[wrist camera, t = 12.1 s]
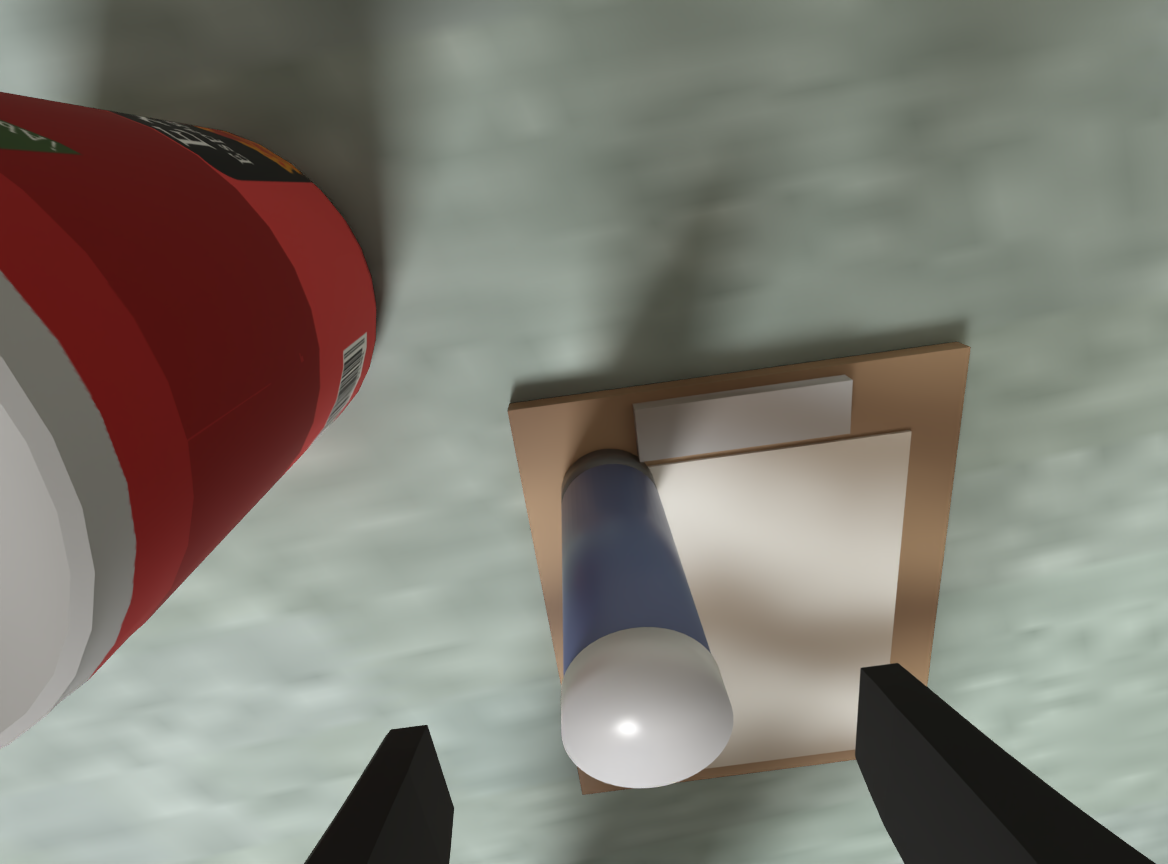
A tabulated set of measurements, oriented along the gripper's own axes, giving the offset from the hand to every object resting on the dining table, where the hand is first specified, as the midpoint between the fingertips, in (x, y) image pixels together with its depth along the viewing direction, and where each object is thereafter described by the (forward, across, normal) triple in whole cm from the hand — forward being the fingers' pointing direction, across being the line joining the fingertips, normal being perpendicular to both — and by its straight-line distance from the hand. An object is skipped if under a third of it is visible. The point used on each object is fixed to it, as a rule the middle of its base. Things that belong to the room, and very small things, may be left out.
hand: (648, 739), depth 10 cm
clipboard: (+9, -4, +5) cm, 11 cm away
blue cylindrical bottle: (+8, 0, 0) cm, 8 cm away
